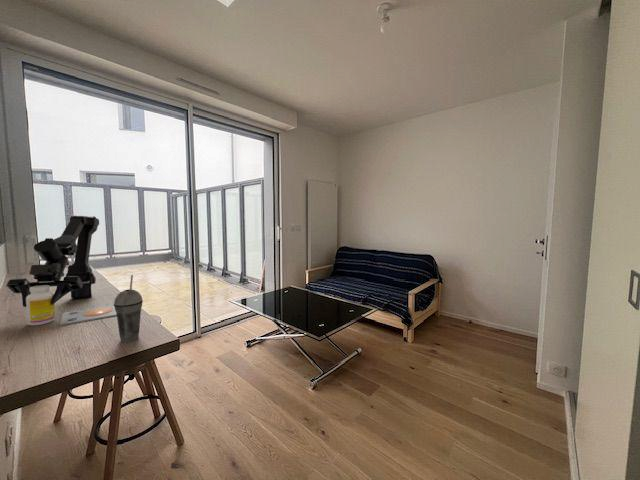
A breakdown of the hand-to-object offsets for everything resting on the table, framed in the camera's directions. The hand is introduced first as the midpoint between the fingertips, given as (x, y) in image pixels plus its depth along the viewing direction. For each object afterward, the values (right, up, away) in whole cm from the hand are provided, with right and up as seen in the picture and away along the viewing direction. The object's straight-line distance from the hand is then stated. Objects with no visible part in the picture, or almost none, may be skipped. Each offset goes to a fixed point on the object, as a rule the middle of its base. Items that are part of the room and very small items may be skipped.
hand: (38, 305), depth 88 cm
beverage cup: (+38, -8, -9) cm, 40 cm away
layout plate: (+10, -6, +10) cm, 15 cm away
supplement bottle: (-1, -7, +2) cm, 7 cm away
